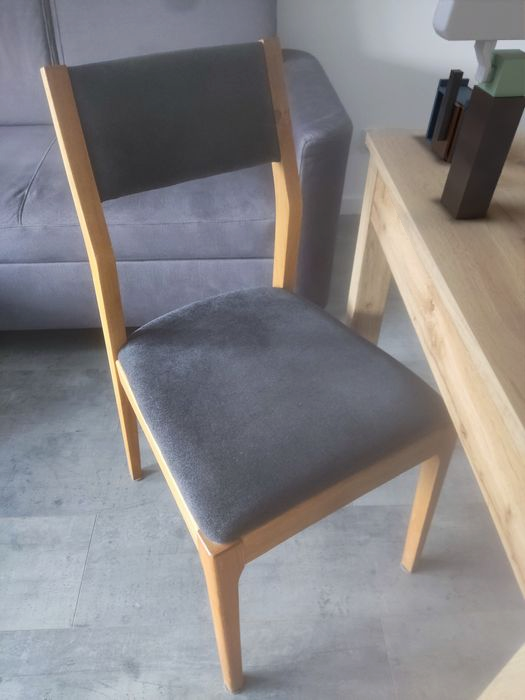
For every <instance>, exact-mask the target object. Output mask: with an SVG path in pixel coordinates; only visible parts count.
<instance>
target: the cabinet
mask: <svg viewBox="0 0 525 700" xmlns="http://www.w3.org/2000/svg"><path fill="white" fill-rule="evenodd" d="M448 80H449V78H439V80H438V84H437V88H436V92H435V96H434V101H433V105H432V107H431V113H430V117H429V121H428V123H427V124H428V125H427V128H426V133H425V137H424V139H425V140H426V141H427V142H428V143H429V144H430V145H431V142H432V138H433V134H434V130H435V126H436V122H437V118H438V114H439V111H440V107H441V103H442V99H443V95H445V91H446V87H447V83H448ZM469 83H470V78H468V77H464V78H463V77H462V81H461V85H460V88H459V92H458V96H457V99H456V103H457V104H458V105H459V106H460V110H459V113H458V117H457V120H456V124H455V128H454V131H453V135H452V138H451V142H450V145H449V149H448V152H447V156H446V159H444V160H445V162H447V164H451V162H452V159H453V155H454V152H455V149H456V145H457V142H458V138H459V135H460V131H461V128H462V125H463V121H464V118H465V114H466V111H467V107H468V104H469V101H470V97H471V94H472V90H473V88H471V87H470V86H469Z"/></svg>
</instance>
